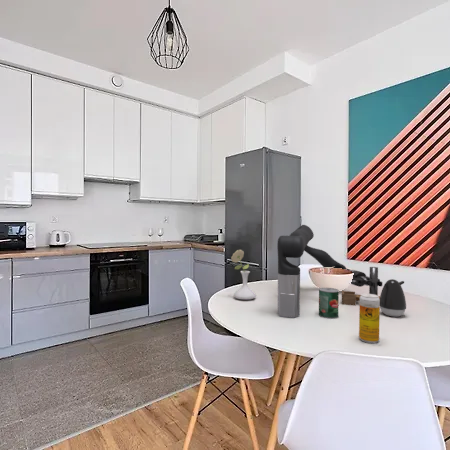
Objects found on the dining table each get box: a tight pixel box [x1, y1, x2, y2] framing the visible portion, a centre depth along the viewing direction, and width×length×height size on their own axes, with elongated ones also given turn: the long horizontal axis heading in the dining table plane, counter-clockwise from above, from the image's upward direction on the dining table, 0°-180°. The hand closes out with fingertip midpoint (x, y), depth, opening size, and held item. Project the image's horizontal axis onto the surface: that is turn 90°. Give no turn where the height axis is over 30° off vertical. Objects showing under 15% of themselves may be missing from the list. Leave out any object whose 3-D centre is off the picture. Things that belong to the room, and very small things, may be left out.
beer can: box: [358, 293, 381, 344], centre depth 104 cm, size 6×6×15 cm
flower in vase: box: [230, 249, 257, 300], centre depth 158 cm, size 13×11×25 cm
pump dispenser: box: [380, 278, 407, 318], centre depth 133 cm, size 10×10×15 cm
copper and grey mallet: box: [355, 266, 380, 302], centre depth 148 cm, size 4×16×17 cm, turn 71°
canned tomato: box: [318, 287, 340, 320], centre depth 131 cm, size 8×8×11 cm
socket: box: [341, 290, 357, 306], centre depth 152 cm, size 7×6×5 cm
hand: (377, 284), depth 145 cm, fingers closed on copper and grey mallet, 3 cm apart
